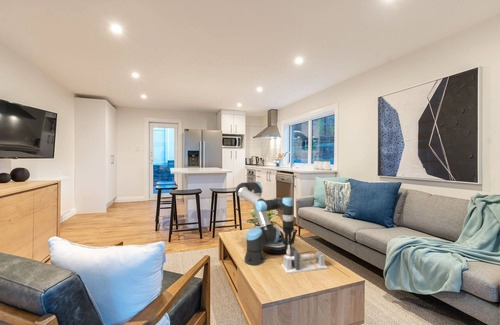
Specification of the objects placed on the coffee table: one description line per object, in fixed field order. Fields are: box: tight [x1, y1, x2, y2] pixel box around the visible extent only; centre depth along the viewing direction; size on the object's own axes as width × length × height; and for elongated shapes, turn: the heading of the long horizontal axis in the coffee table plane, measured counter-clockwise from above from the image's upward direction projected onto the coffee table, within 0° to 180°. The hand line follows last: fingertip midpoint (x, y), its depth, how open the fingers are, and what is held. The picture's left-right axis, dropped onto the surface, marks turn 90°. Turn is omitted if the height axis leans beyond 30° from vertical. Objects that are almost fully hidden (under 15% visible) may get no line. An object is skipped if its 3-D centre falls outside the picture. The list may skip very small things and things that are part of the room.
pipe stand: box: [280, 251, 329, 275], centre depth 165 cm, size 30×12×9 cm, turn 102°
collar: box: [289, 246, 301, 269], centre depth 163 cm, size 2×11×11 cm, turn 12°
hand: (288, 253), depth 162 cm, fingers closed
